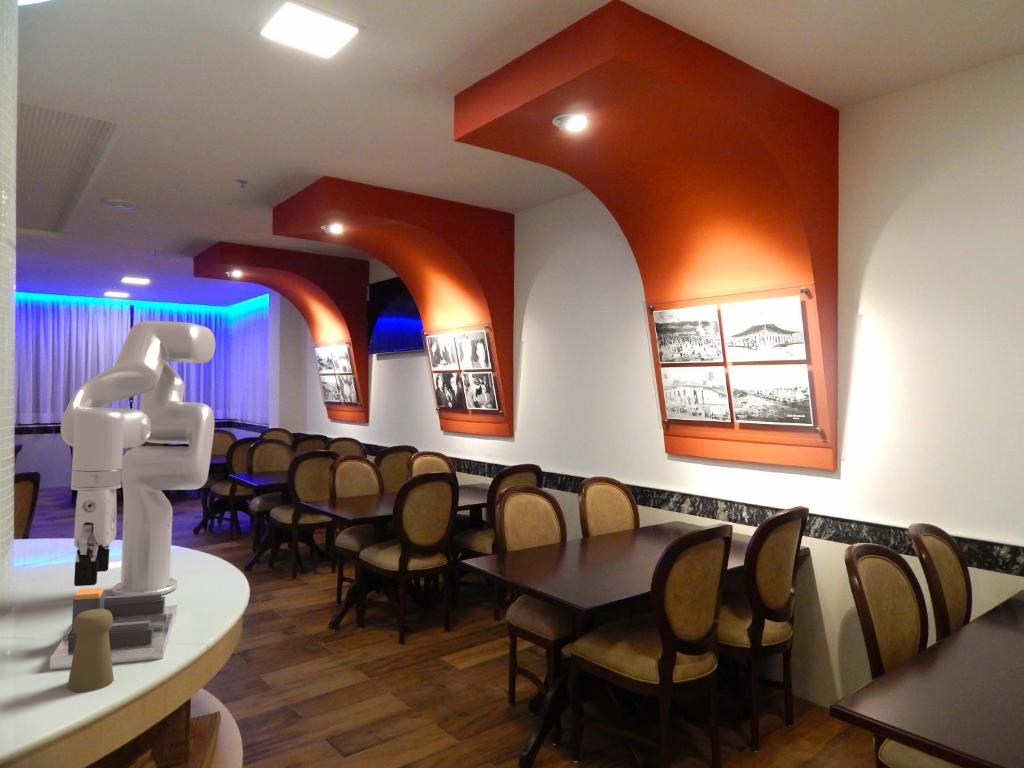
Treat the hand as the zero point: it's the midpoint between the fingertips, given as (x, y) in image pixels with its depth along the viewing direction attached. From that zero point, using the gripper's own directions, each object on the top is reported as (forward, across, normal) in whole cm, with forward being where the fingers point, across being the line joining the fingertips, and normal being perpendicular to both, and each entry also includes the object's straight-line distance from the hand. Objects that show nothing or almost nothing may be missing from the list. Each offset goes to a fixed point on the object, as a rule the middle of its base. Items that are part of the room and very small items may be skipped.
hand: (91, 578), depth 117 cm
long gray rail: (+10, +1, -5) cm, 11 cm away
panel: (+12, +1, -5) cm, 12 cm away
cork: (+12, -17, -4) cm, 21 cm away
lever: (+9, +1, 0) cm, 9 cm away
